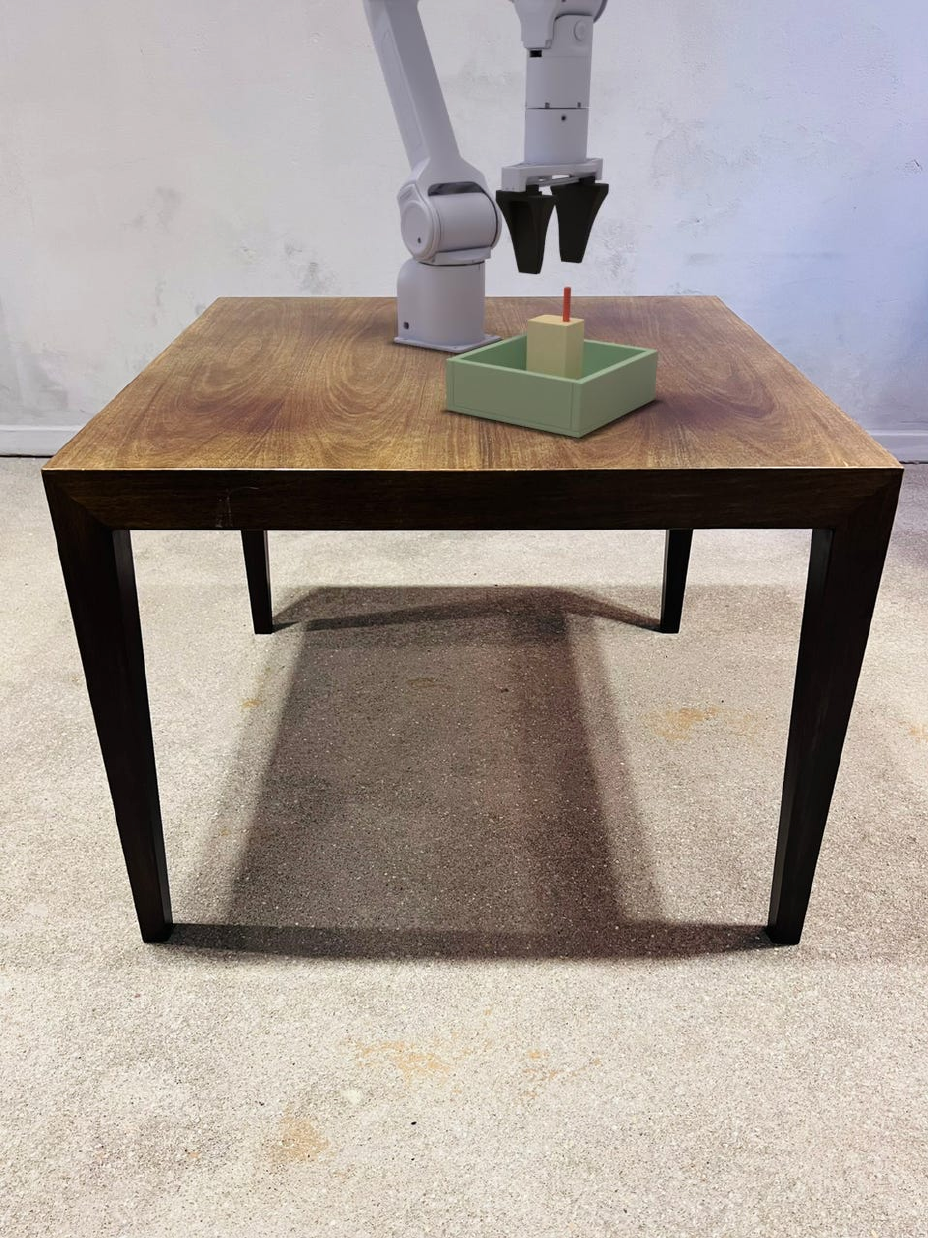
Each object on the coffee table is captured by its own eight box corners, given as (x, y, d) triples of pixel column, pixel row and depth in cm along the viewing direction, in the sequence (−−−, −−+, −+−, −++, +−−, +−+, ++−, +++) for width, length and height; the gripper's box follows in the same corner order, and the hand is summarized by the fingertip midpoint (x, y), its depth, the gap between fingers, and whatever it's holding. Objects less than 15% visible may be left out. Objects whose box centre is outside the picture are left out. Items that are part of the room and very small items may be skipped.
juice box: (525, 399, 88) (528, 286, 83) (543, 391, 90) (546, 281, 86) (563, 406, 86) (568, 291, 81) (580, 399, 88) (586, 285, 83)
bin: (446, 409, 87) (445, 359, 85) (529, 376, 97) (530, 330, 95) (578, 438, 80) (581, 383, 78) (654, 399, 90) (658, 349, 88)
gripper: (551, 110, 81) (545, 282, 87) (635, 107, 91) (624, 261, 97) (482, 109, 84) (481, 274, 91) (569, 106, 95) (563, 254, 101)
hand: (550, 267), depth 94 cm, fingers open, 7 cm apart
